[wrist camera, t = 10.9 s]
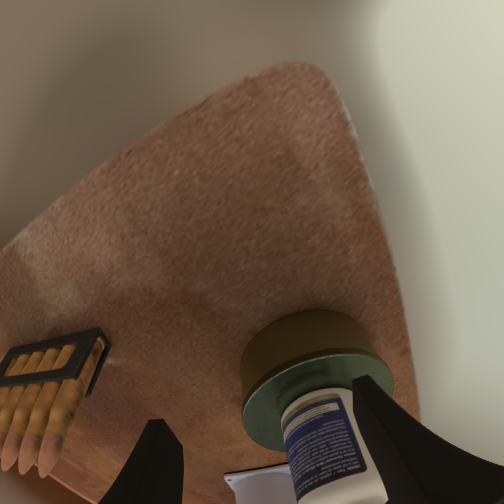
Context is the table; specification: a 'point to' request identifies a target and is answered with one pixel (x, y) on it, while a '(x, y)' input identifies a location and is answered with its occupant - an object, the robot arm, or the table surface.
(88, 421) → the table surface
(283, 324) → the tin
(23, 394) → the rifle cartridge clip
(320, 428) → the pill bottle
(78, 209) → the table surface
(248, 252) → the table surface
